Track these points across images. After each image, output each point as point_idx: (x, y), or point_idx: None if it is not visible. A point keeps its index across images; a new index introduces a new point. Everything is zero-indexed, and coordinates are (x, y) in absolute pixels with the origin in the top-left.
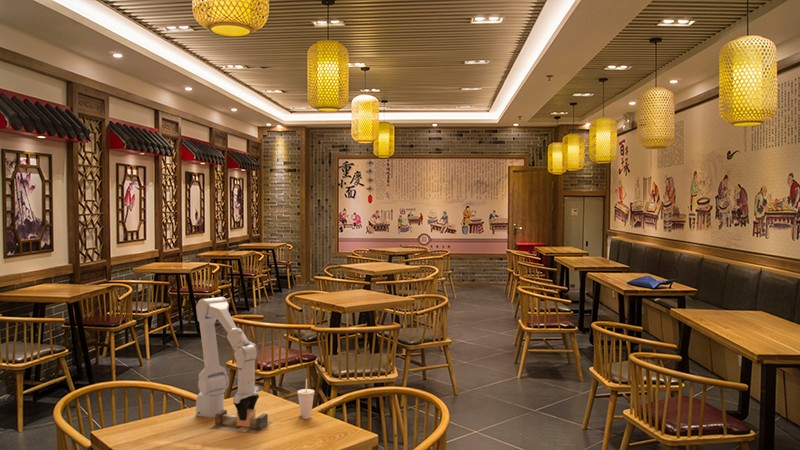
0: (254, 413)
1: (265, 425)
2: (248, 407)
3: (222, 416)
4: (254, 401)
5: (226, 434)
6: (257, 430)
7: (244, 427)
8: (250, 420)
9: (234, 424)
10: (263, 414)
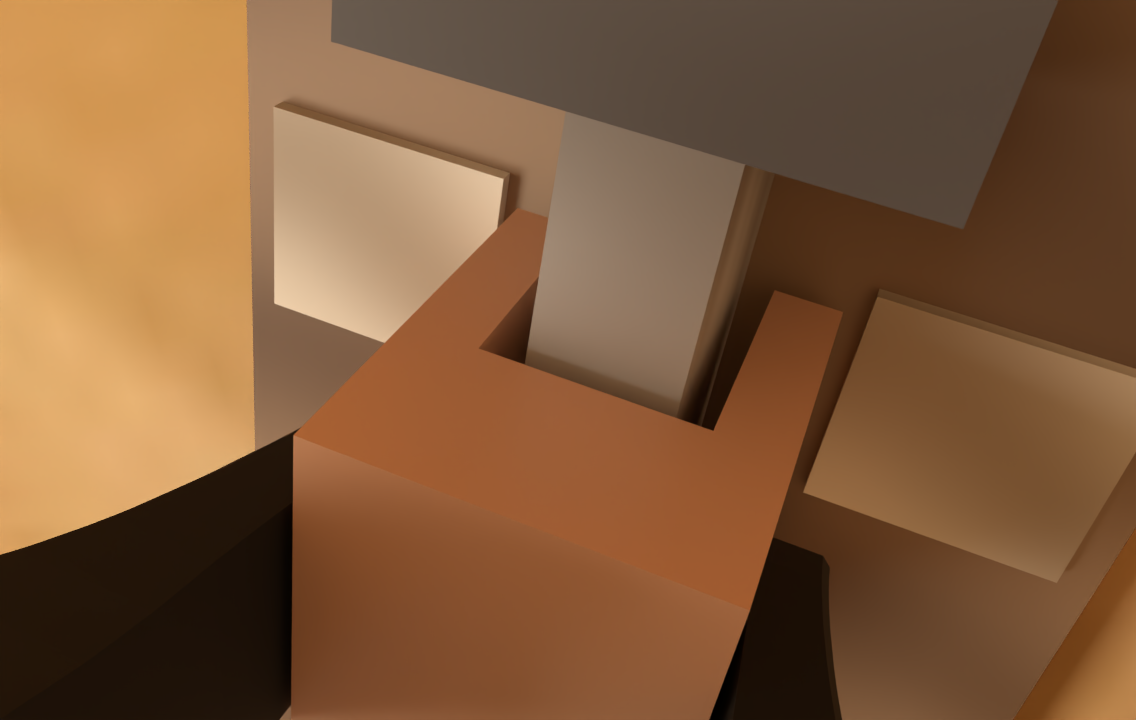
0: (418, 382)
1: None
2: (249, 672)
3: None
4: (38, 705)
5: (1063, 712)
6: (1091, 9)
7: None
8: (756, 394)
9: None
10: (446, 8)
